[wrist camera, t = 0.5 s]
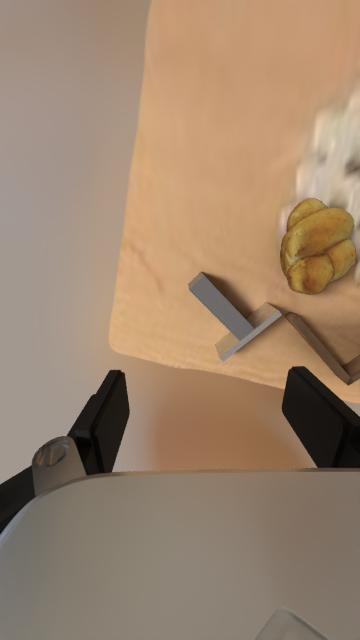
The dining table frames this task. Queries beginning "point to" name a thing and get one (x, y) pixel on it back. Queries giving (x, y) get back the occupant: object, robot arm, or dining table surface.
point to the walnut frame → (326, 352)
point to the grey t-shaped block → (231, 316)
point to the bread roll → (316, 246)
